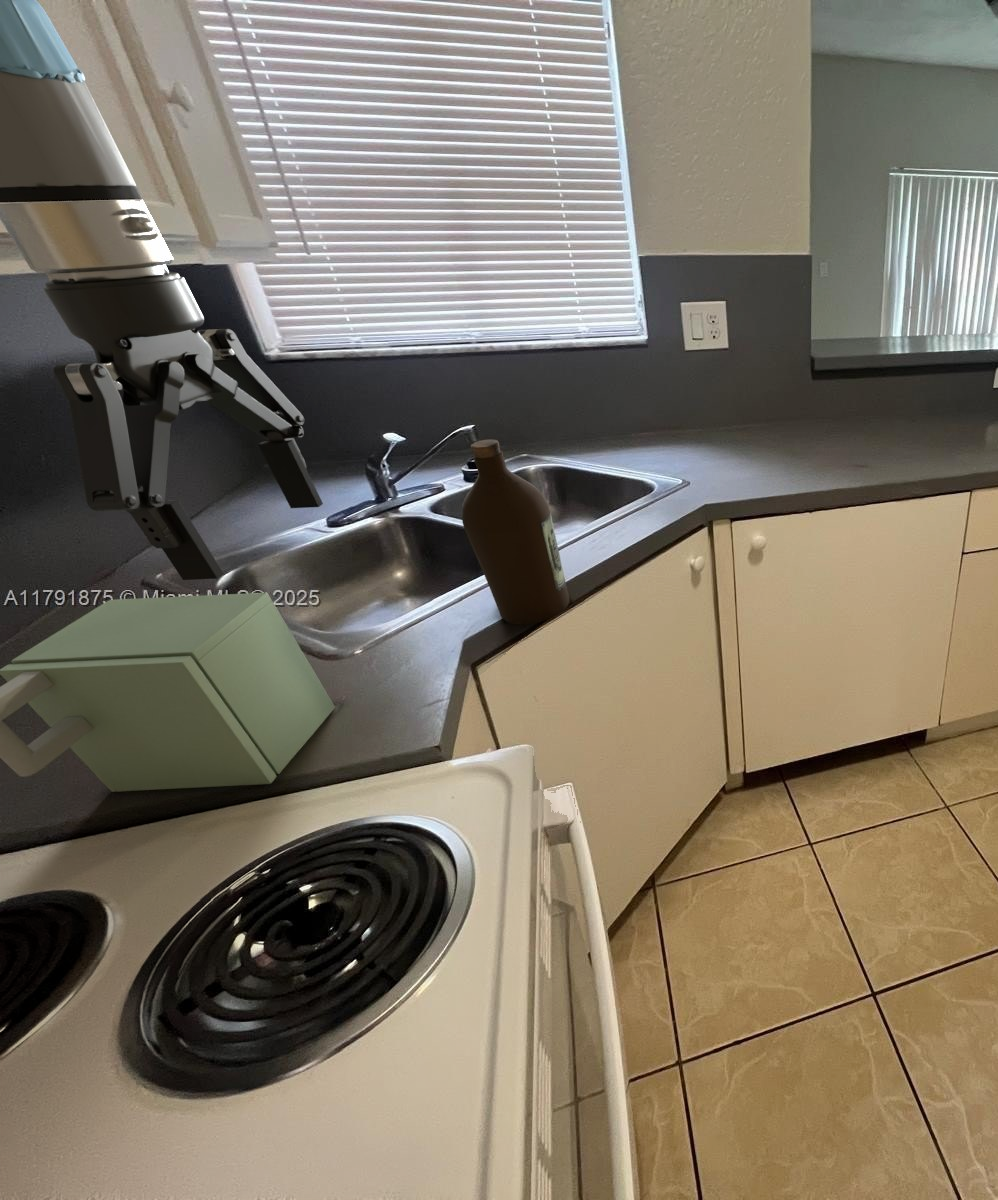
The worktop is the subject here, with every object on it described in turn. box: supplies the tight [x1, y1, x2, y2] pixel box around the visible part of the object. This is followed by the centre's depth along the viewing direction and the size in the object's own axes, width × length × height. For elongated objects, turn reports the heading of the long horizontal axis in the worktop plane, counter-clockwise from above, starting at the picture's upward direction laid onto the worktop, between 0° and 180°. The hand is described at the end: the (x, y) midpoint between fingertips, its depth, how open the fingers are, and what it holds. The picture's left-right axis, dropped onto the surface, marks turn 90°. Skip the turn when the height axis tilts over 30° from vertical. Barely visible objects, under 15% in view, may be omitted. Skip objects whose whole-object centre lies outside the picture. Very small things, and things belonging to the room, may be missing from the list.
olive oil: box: [461, 439, 570, 626], centre depth 84 cm, size 11×11×25 cm
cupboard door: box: [0, 656, 277, 793], centre depth 57 cm, size 7×16×17 cm, turn 92°
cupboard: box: [10, 592, 336, 775], centre depth 65 cm, size 10×16×17 cm, turn 92°
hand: (260, 538), depth 56 cm, fingers open, 13 cm apart
